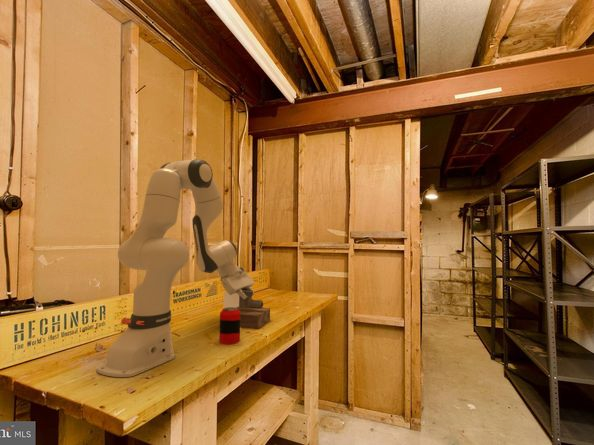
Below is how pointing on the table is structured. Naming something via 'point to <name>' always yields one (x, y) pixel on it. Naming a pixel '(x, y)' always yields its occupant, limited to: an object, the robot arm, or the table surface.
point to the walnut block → (253, 317)
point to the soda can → (229, 325)
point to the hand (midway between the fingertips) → (249, 296)
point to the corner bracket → (231, 300)
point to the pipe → (249, 300)
